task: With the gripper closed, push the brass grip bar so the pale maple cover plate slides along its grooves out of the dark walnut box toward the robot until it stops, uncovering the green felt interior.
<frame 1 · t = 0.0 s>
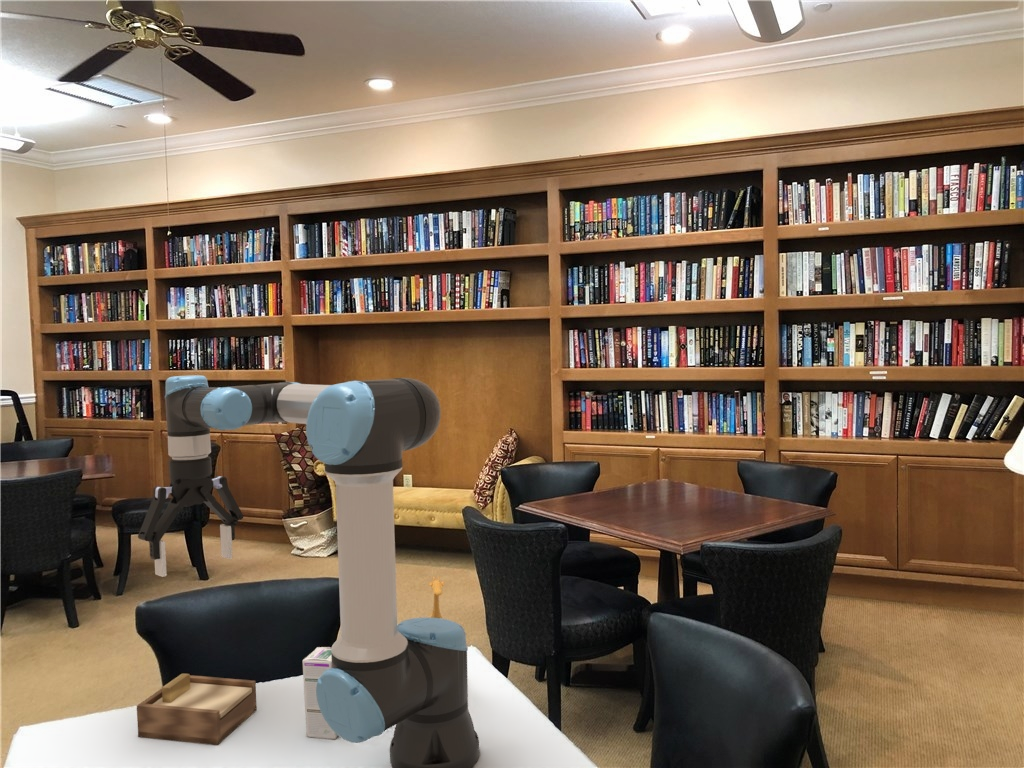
hand: (195, 566, 150), 28 cm above the table, fingers open, 13 cm apart
walnut box: (199, 723, 145), on the table
cover plate: (201, 692, 145), point 6 cm above the table, slide at 0.0 cm
syrup box: (327, 731, 142), on the table
giraffe: (437, 692, 156), on the table
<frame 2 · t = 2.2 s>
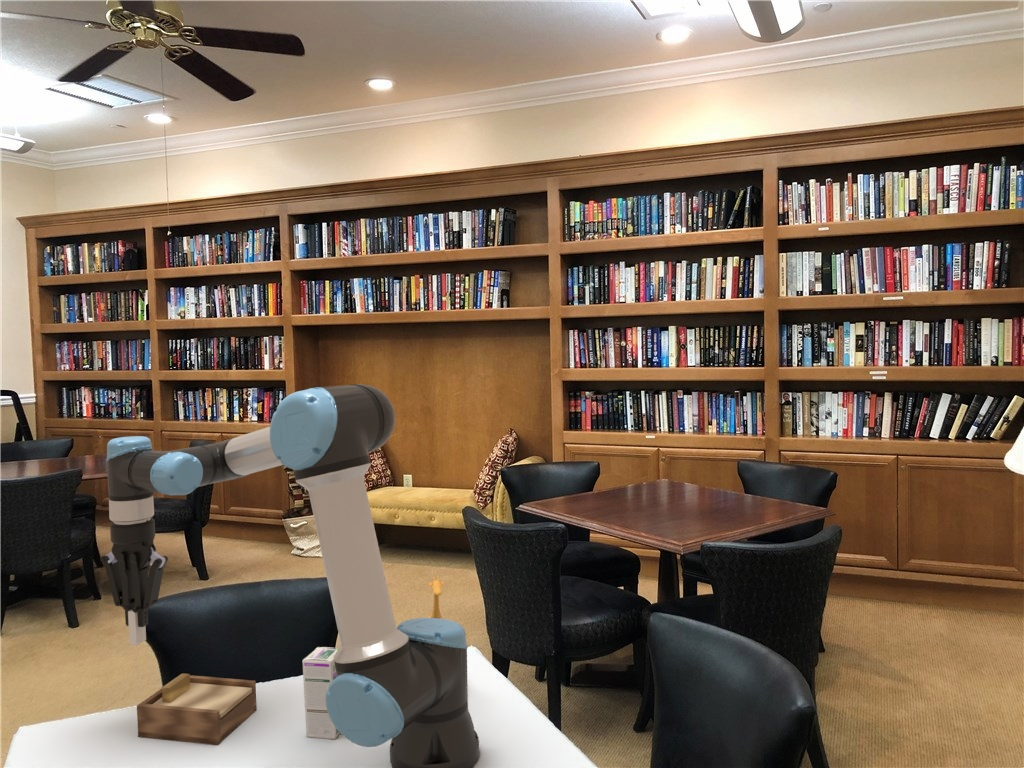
hand: (137, 642, 147), 15 cm above the table, fingers closed
nothing on the table moved.
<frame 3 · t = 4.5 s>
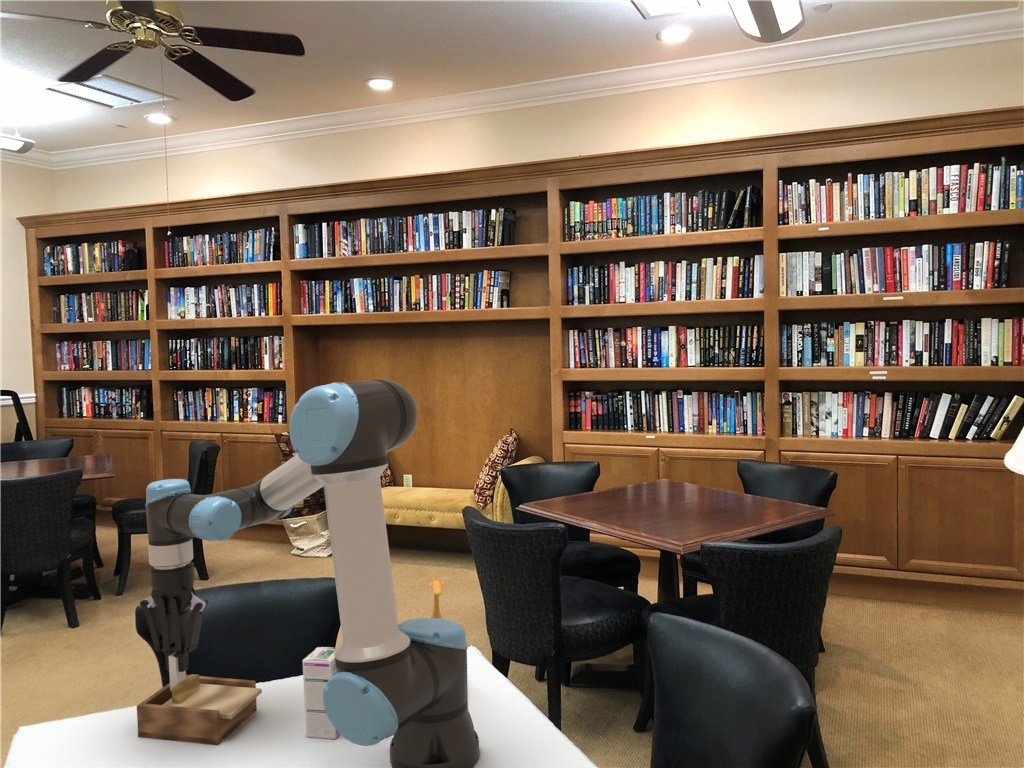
hand: (178, 687, 146), 7 cm above the table, fingers closed
cover plate: (210, 692, 144), point 6 cm above the table, slide at 2.0 cm, touching gripper
everything else where it was.
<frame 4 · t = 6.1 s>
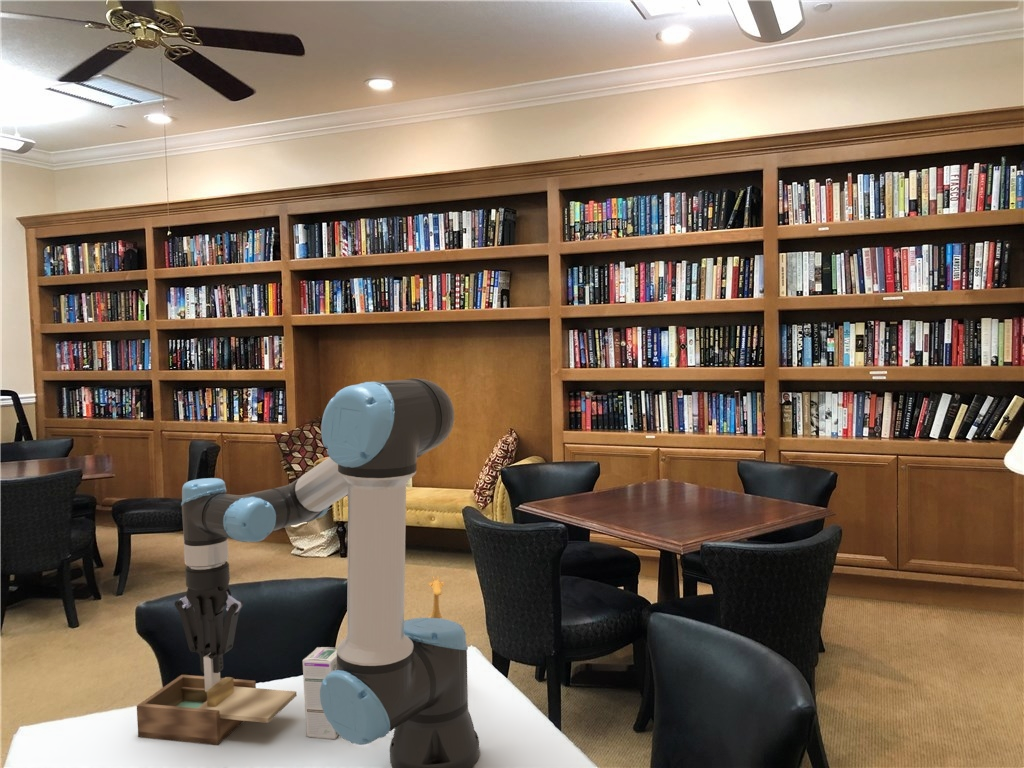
hand: (212, 688, 144), 7 cm above the table, fingers closed
cover plate: (245, 695, 143), point 6 cm above the table, slide at 9.2 cm, touching gripper
everything else where it was.
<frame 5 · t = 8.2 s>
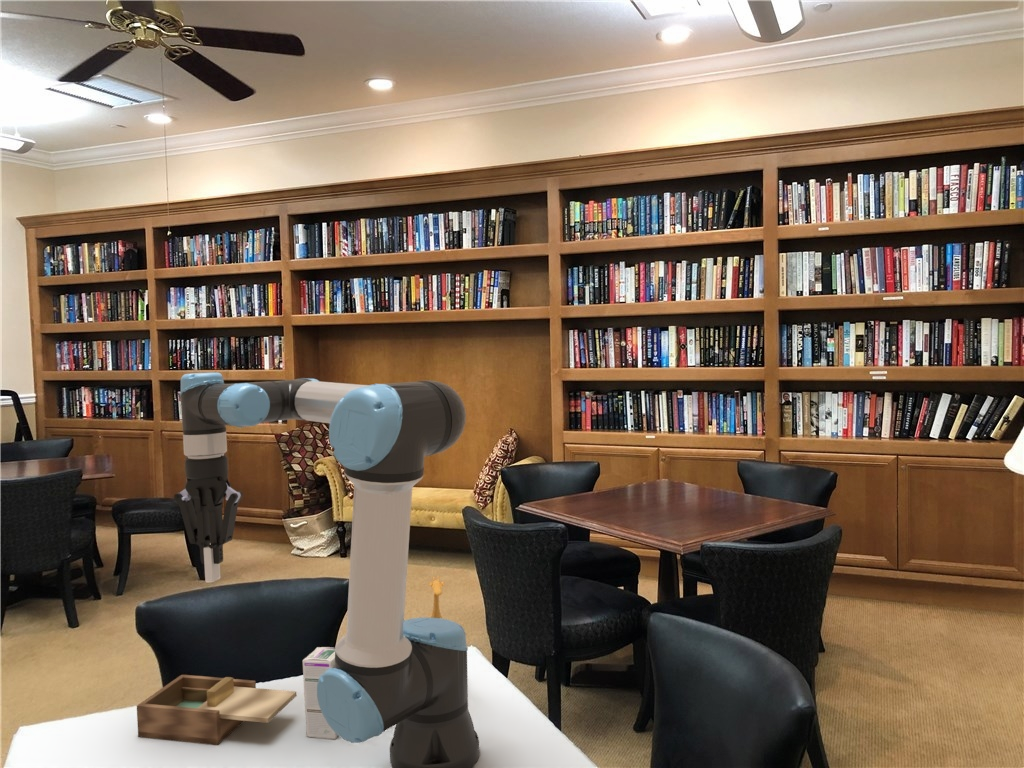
hand: (213, 580, 146), 26 cm above the table, fingers closed
cover plate: (245, 695, 143), point 6 cm above the table, slide at 9.2 cm
everything else where it was.
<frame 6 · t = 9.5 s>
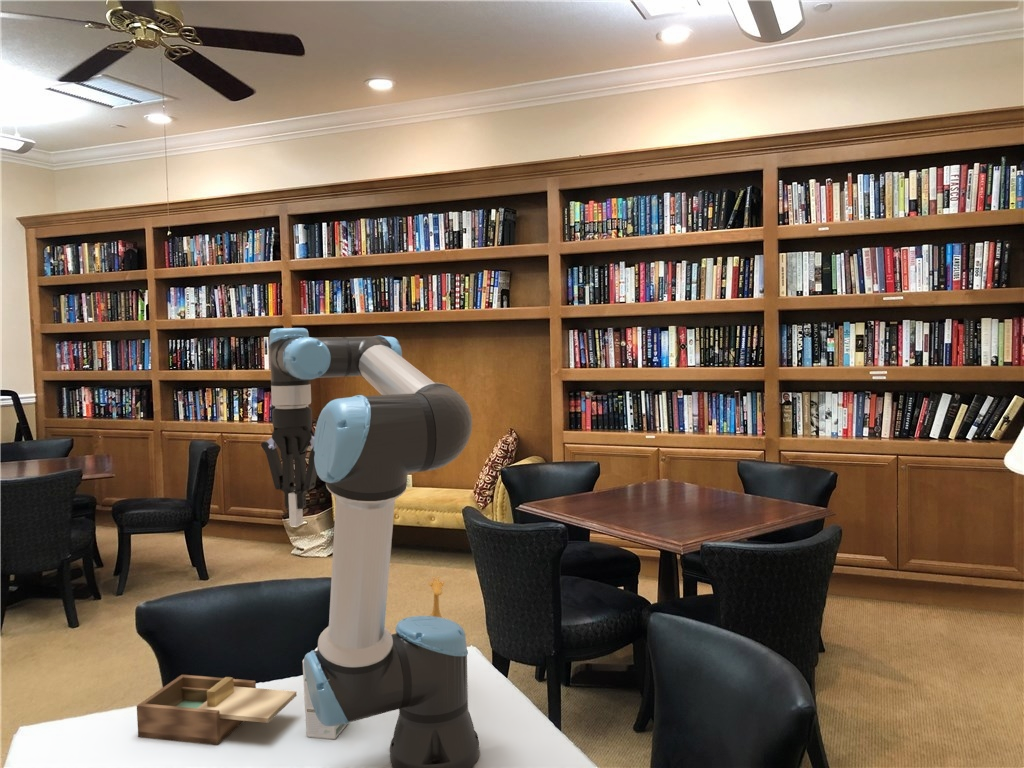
hand: (296, 524, 155), 34 cm above the table, fingers closed
nothing on the table moved.
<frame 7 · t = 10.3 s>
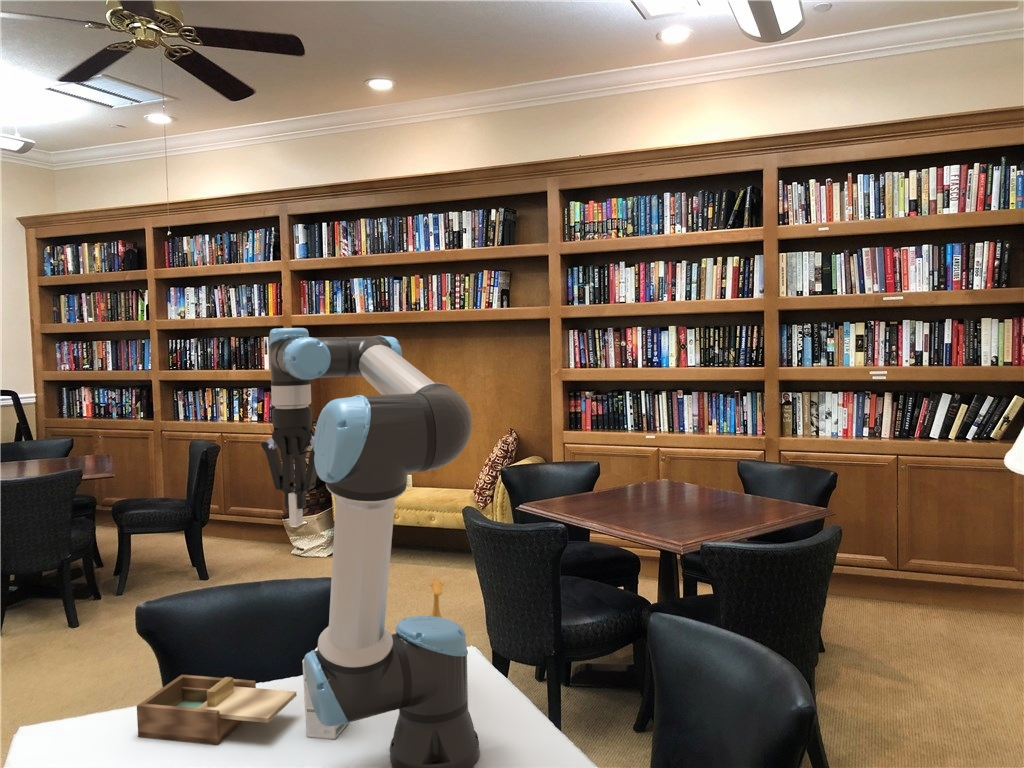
hand: (296, 524, 155), 34 cm above the table, fingers closed
nothing on the table moved.
at the end: cover plate slide at 9.2 cm; cover plate touching nothing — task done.
